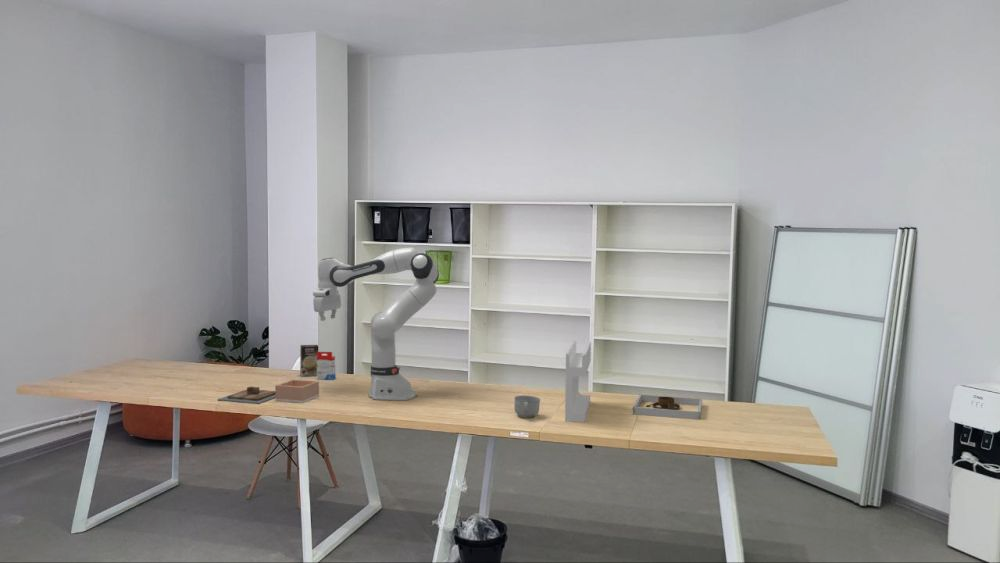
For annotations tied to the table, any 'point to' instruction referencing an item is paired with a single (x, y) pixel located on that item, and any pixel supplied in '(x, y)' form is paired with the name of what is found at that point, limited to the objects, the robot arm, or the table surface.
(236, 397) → the walnut lid
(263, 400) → the rubber mat
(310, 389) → the salmon open box
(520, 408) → the teacup
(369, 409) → the table surface
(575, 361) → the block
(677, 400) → the grey tray frame
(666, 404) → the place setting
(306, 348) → the coffee box
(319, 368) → the ink box
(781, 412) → the table surface
